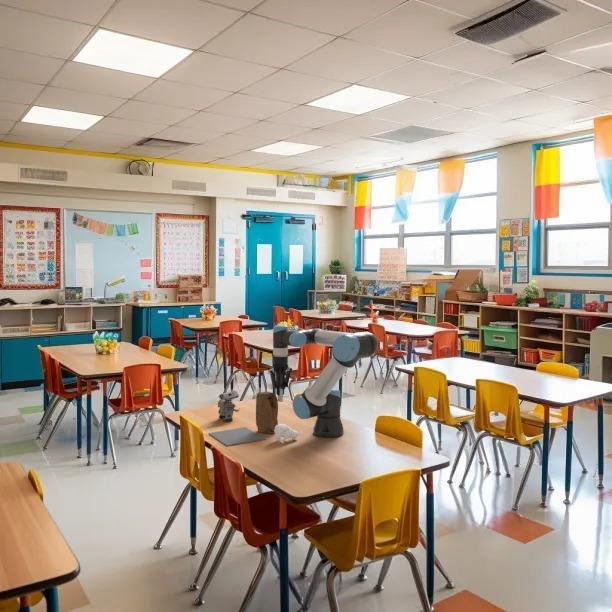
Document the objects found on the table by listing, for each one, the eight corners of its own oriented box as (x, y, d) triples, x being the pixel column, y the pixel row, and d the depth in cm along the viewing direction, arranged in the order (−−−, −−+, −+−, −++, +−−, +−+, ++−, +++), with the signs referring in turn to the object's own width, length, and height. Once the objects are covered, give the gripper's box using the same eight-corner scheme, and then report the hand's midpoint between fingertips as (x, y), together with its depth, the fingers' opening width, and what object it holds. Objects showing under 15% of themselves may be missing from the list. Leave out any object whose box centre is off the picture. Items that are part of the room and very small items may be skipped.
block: (254, 431, 301) (254, 392, 300) (264, 428, 307) (264, 389, 306) (270, 435, 295) (270, 395, 293) (280, 431, 301) (280, 392, 299)
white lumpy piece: (273, 422, 286) (296, 422, 291) (271, 440, 287) (294, 439, 292) (278, 426, 280) (301, 425, 285) (276, 443, 281) (299, 443, 286)
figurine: (242, 419, 323) (242, 392, 322) (222, 422, 317) (222, 394, 316) (235, 415, 331) (235, 389, 329) (216, 418, 325) (215, 391, 323)
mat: (265, 439, 288) (265, 438, 288) (227, 446, 278) (227, 445, 278) (245, 428, 307) (245, 427, 307) (208, 434, 296) (208, 433, 296)
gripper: (288, 353, 308) (287, 398, 311) (265, 355, 302) (265, 401, 304) (295, 355, 302) (294, 401, 304) (272, 357, 295) (272, 404, 298)
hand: (280, 401), depth 304 cm, fingers closed
